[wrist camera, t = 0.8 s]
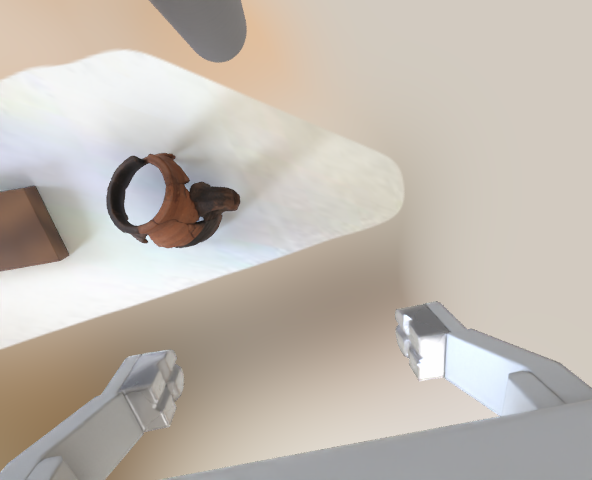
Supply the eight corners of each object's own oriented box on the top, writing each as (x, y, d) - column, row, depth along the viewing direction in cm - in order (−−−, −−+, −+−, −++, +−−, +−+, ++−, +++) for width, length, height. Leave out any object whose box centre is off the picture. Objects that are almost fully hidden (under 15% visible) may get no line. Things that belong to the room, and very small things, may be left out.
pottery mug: (166, 254, 32) (100, 253, 25) (160, 177, 33) (95, 152, 26) (260, 239, 29) (219, 232, 22) (250, 155, 30) (208, 118, 22)
